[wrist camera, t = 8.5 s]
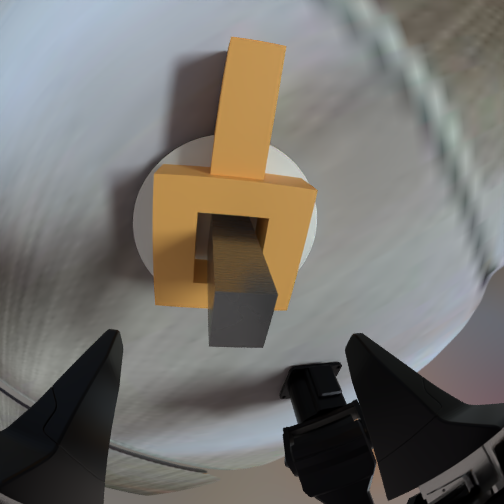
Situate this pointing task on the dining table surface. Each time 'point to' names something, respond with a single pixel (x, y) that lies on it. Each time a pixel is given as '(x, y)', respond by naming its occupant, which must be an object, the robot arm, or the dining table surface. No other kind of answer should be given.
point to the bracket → (227, 187)
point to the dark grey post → (237, 284)
